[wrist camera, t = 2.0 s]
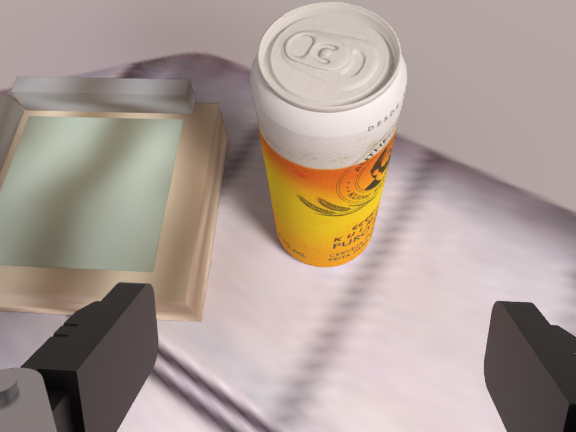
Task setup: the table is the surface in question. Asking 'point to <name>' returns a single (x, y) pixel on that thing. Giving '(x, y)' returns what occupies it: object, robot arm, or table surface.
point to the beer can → (327, 125)
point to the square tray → (107, 192)
